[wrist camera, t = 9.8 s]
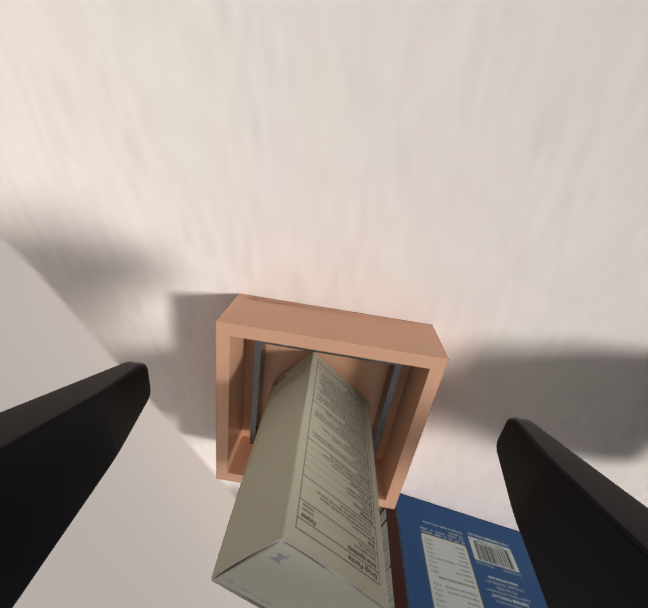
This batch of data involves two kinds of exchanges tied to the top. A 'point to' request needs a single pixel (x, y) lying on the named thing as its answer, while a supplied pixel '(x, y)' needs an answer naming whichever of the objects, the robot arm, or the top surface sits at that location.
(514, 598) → the protein box
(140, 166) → the top surface
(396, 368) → the thin grey square frame
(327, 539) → the skincare box
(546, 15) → the top surface
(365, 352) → the wooden cubby frame
